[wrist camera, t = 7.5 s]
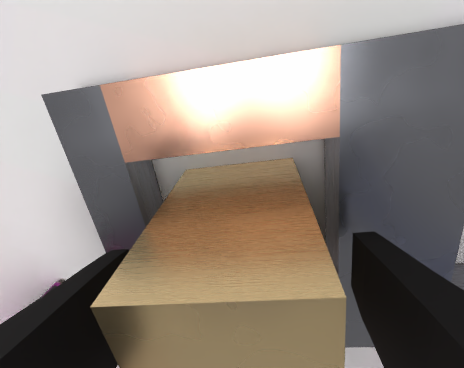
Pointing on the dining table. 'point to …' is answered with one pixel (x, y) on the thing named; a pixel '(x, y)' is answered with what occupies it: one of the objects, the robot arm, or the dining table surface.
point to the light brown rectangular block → (228, 278)
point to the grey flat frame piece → (293, 130)
